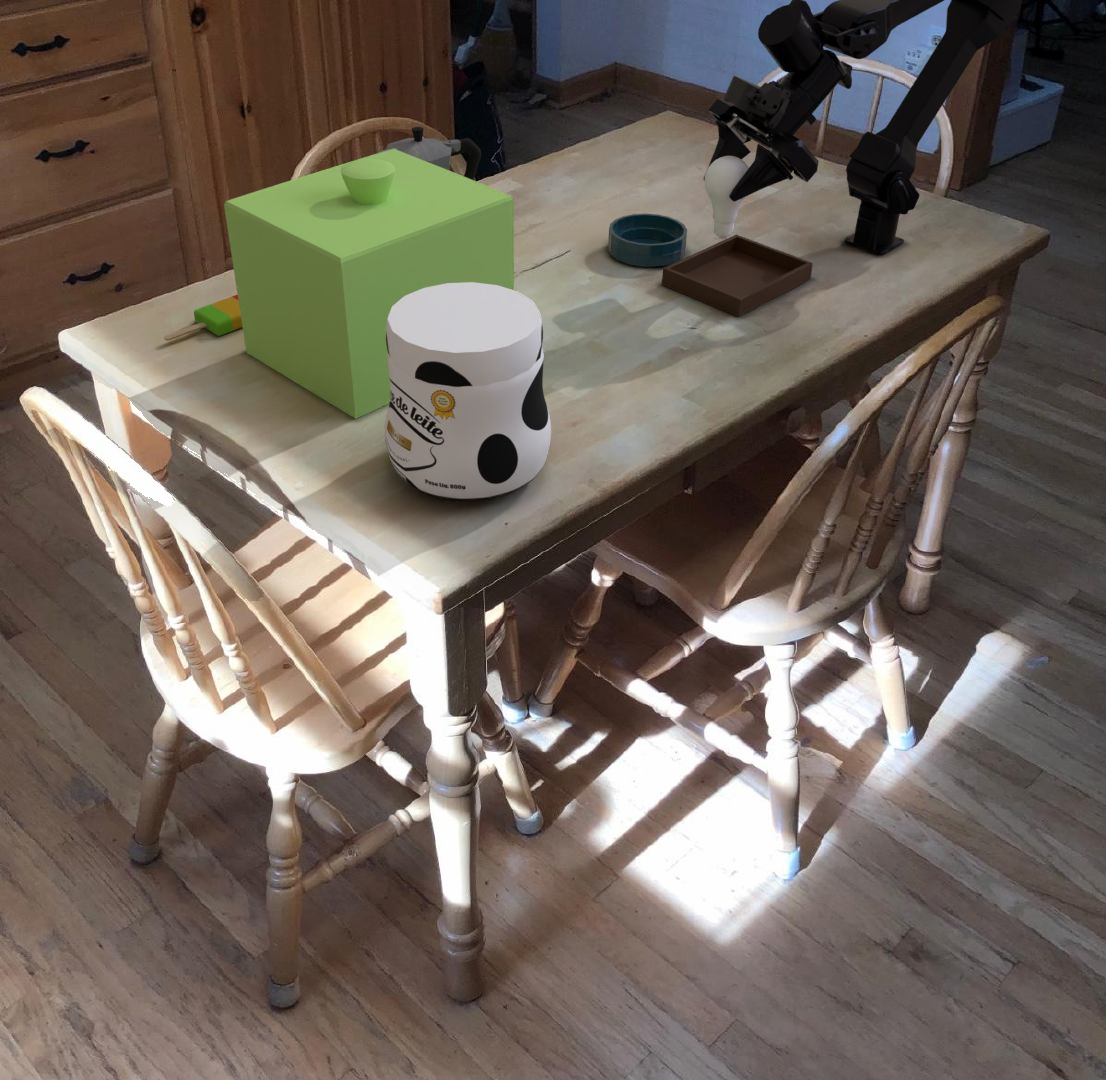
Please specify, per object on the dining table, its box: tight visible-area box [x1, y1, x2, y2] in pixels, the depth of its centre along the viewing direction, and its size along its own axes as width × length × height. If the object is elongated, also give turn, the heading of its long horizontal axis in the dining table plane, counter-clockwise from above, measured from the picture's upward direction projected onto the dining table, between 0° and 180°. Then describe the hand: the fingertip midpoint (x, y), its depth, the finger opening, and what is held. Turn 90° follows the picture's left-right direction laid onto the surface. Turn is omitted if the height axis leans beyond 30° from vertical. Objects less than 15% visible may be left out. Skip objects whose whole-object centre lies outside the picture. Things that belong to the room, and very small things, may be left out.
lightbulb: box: [704, 156, 750, 240], centre depth 160 cm, size 6×6×11 cm
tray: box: [661, 234, 814, 318], centre depth 167 cm, size 16×13×2 cm
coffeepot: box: [376, 126, 482, 181], centre depth 168 cm, size 15×9×18 cm, turn 113°
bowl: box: [607, 213, 688, 268], centre depth 174 cm, size 11×11×4 cm
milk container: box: [384, 282, 552, 502], centre depth 125 cm, size 17×17×18 cm
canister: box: [223, 149, 515, 420], centre depth 144 cm, size 25×21×23 cm
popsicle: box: [163, 294, 243, 342], centre depth 155 cm, size 6×15×2 cm, turn 135°
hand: (718, 190), depth 159 cm, fingers closed on lightbulb, 6 cm apart
